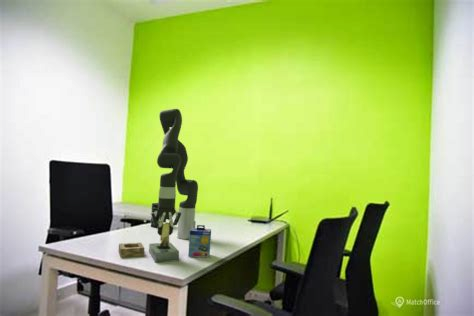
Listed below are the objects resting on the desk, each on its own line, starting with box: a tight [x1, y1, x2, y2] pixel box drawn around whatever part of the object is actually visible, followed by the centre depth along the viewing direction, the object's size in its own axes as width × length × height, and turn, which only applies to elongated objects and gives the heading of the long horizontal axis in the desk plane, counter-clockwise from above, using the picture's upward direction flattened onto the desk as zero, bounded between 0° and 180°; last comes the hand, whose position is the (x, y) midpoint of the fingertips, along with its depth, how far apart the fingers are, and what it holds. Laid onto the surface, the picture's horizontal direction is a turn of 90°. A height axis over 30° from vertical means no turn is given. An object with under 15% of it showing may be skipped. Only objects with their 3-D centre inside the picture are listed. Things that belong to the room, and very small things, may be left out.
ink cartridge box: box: [187, 224, 212, 259], centre depth 146 cm, size 10×6×14 cm, turn 95°
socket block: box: [118, 242, 145, 258], centre depth 144 cm, size 10×10×4 cm
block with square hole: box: [148, 242, 180, 263], centre depth 142 cm, size 10×16×4 cm, turn 25°
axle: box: [159, 221, 171, 246], centre depth 142 cm, size 4×4×10 cm
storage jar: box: [150, 202, 167, 229], centre depth 208 cm, size 10×10×15 cm
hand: (164, 234), depth 142 cm, fingers closed on axle, 4 cm apart
